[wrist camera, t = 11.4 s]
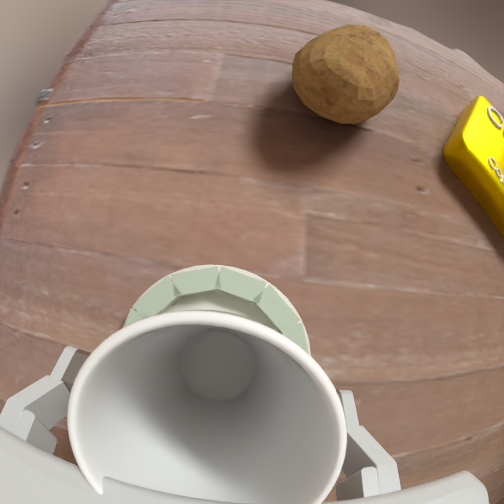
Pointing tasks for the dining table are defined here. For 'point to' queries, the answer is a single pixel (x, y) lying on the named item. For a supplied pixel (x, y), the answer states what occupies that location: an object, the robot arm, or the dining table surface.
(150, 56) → the dining table surface
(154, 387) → the drinking glass
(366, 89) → the potato
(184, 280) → the green rimmed plate
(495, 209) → the element tile
